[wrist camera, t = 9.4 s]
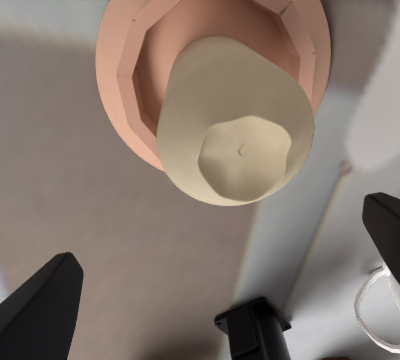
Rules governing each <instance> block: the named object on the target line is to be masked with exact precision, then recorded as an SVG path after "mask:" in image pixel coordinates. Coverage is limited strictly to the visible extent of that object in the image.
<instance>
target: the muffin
mask: <svg viewBox="0 0 400 360" xmlns="http://www.w3.org/2000/svg"><path fill="white" fill-rule="evenodd" d="M322 360H353V359H351V358H349V357H338V358H325V359H322Z"/></svg>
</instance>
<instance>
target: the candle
mask: <svg viewBox="0 0 400 360" xmlns="http://www.w3.org/2000/svg"><path fill="white" fill-rule="evenodd" d="M313 137H314V116H313V111H312V107H311V104H310V101H309V98H308V97H307V95H306V93H305V91H304V90H303V88H302V87H301V86H300V84H299V83H298V82H297V81H296V80H295V79H294V78H293V77H292V76H291V75H290V74H288V73H287V72H285V71H284V70H282V69H281V68H279V67H278V66H276V65H275V64H273V63H272V62H270V61H269V60H267V59H266V58H264V57H263V56H261V55H260V54H258V53H257V52H255V51H253V50H252V49H250V48H249V47H247V46H246V45H244V44H243V43H241V42H239V41H237V40H235V39H233V38H230V37H227V36H222V35H211V36H205V37H202V38H199V39H197V40H195V41H193V42H192V43H190V44H189V45H187V46H186V47H185V48H184V49H183V50H182V51H181V52H180V53H179V55H178V56H177V58H176V59H175V61H174V63H173V65H172V68H171V71H170V74H169V79H168V83H167V87H166V91H165V96H164V100H163V104H162V109H161V113H160V117H159V122H158V127H157V138H156V141H157V150H158V154H159V158H160V161H161V164H162V166H163V168H164V170H165V172H166V173H167V175H168V176H169V178H170V179H171V180H172V182H173V183H174V184H175V185H176V186H177V187H178V188H180V189H181V190H182V191H183V192H185V193H186V194H188V195H190V196H191V197H193V198H195V199H198V200H200V201H203V202H206V203H209V204H215V205H223V206H236V205H243V204H248V203H252V202H255V201H258V200H261V199H263V198H265V197H268V196H270V195H271V194H273V193H275V192H276V191H278V190H279V189H281V188H282V187H283V186H285V185H286V184H287V183H288V182H289V181H290V180H291V179H292V178H293V177H294V176H295V175H296V174H297V172H298V171H299V170H300V168H301V167H302V165H303V164H304V162H305V160H306V158H307V156H308V154H309V151H310V149H311V146H312V141H313Z"/></svg>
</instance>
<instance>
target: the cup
mask: <svg viewBox="0 0 400 360" xmlns="http://www.w3.org/2000/svg"><path fill="white" fill-rule="evenodd" d="M383 275H386V276H388V277H389V278H388V283H389V286H390V289H391V291H392V294H393V296H394V299H395V302H396V304H397V306H398V308H399V309H400V285H399V283H398V282H397V281H396V279H395V278H394V276H393V275H392V273H391V272H390V270H389V269H388V267H387V265H386V264H385V262H384V263H383V266H382V268H380V269H377V270H375V271H374V272H373V273H372V274H371V275H370V276H369V277H368V278H367V279H366V280H365V282H364V283H363V285H362V287H361V288H360V290H359V292H358V293H357V295H356V298H355V302H354V309H355V314H356V318H357V320H358V322H359V323H360V325H361V326H362V328H363V329H364V331H365V332H366V333H367V334H368V336H369V337H370V338H371V339H372V340H373V341H374V342H375V343H376V344H377V345H379V346H381V347H382V348H384V349H386V350H388V351H390V352H392V353H400V345H391V344H389V343H387V342H385V341H383V340H381V339H379V338H378V337H376V336H375V335H374V334H373V333H372V332H371V331H370V330H369V329H368V327H367V326H366V325H365V324H364V322H363V321H362V319H361V317H360V313H359V307H360V304H361V301H362V299H363V297H364V295H365V294H366V292H367V290H368V289H369V287H370V286H371V284H372V283H373V282H374V281H375V280H376V279H377V278H378V277H380V276H383Z"/></svg>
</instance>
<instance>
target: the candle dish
mask: <svg viewBox="0 0 400 360" xmlns="http://www.w3.org/2000/svg"><path fill="white" fill-rule="evenodd" d="M211 35H222V36H227V37H230V38H233V39H235V40H237V41H239V42H241V43H243V44H244V45H246V46H247V47H249V48H250V49H252V50H253V51H255V52H257V53H258V54H260V55H261V56H263V57H264V58H266V59H267V60H269V61H270V62H272V63H273V64H275V65H276V66H278V67H279V68H281V69H282V70H284V71H285V72H287V73H288V74H290V75H291V76H292V77H293V78H294V79H295V80H296V81H297V82H298V83H299V84H300V86H301V87H302V88H303V90H304V91H305V93H306V95H307V97H308V98H309V101H310V104H311V107H312V111H313V116H315V114H316V112H317V110H318V108H319V106H320V103H321V101H322V98H323V95H324V92H325V89H326V86H327V81H328V76H329V71H330V59H331V46H330V34H329V28H328V23H327V19H326V16H325V13H324V10H323V6H322V4H321V2H320V0H110V1H109V4H108V6H107V8H106V10H105V12H104V15H103V18H102V22H101V25H100V28H99V33H98V39H97V45H96V63H95V65H96V76H97V83H98V88H99V92H100V97H101V99H102V102H103V105H104V108H105V111H106V113H107V115H108V117H109V119H110V121H111V123H112V125H113V126H114V128H115V129H116V131H117V132H118V134H119V135H120V137H121V138H122V139H123V140H124V141H125V142H126V144H127V145H128V146H129V147H130V148H131V149H132V150H133V151H134V152H135V153H136V154H137V155H139V156H140V157H141V158H143V159H144V160H145V161H147V162H148V163H149V164H151V165H153V166H155V167H156V168H158V169H160V170H162V171H165V170H164V168H163V166H162V164H161V161H160V158H159V154H158V150H157V141H156V138H157V127H158V122H159V117H160V113H161V109H162V104H163V100H164V96H165V91H166V87H167V83H168V79H169V74H170V71H171V68H172V65H173V63H174V61H175V59H176V58H177V56H178V55H179V53H180V52H181V51H182V50H183V49H184V48H185V47H186V46H187V45H189V44H190V43H192V42H193V41H195V40H197V39H199V38H202V37H205V36H211Z"/></svg>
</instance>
